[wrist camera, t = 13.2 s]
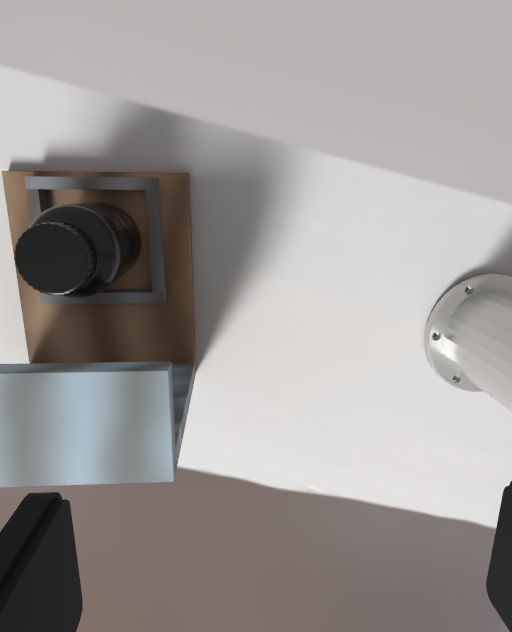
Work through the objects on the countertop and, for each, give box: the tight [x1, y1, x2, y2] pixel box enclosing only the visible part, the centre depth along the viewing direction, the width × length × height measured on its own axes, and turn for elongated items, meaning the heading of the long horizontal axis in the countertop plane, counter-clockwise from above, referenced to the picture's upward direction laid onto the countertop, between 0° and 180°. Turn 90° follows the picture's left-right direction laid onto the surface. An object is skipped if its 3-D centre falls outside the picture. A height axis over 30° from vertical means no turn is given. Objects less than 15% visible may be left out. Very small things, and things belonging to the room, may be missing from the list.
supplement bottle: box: [14, 202, 142, 298], centre depth 33 cm, size 7×7×12 cm
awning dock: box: [0, 171, 196, 487], centre depth 32 cm, size 16×20×18 cm
